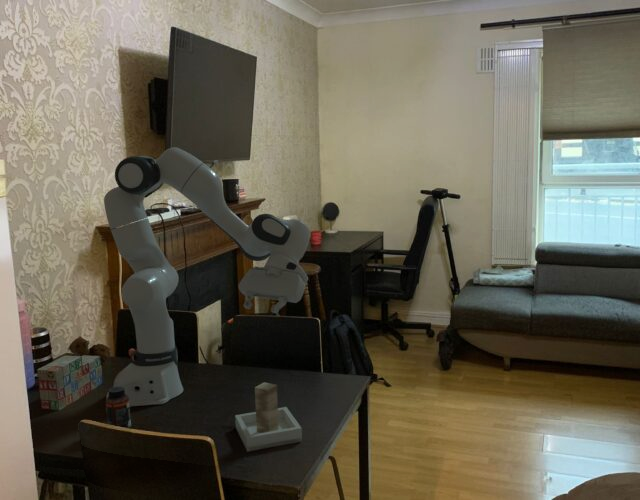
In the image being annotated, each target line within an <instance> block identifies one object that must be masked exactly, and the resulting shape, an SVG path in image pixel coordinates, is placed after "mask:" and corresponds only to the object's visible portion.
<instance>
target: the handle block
mask: <svg viewBox="0 0 640 500" xmlns="http://www.w3.org/2000/svg"><path fill="white" fill-rule="evenodd" d="M254 397H255V398H254V399H255V402H254V403H255V412H256V424H257V432H259V433H265V432H270V431H276V430H278V429H279V426H278V408H279V406H278V405H279V404H278V402H279V401H278V385H277V384H274V383H269V382H265V381H264V382H262V383H260V384H258V385H257V386H255V387H254Z"/></svg>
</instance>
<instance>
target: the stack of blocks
mask: <svg viewBox="0 0 640 500" xmlns="http://www.w3.org/2000/svg"><path fill="white" fill-rule="evenodd" d="M36 372H37V378H38V379H37V381H38V382H37V385H38V389H39V397H40V398H39V399H40V408H41V409H42V410H51V411H61V410H62V409H65V408H66V407H68V406H69V405H71V404H73V403H75V402H76V401H77V400H79V399H80V398H82V397H83V396H85V395H86V394H88V393H90V392H91V391H93V390H95V389H96V388H98V387H99V386H101V385H102V384H103V382H104V381H103V370H102V367H101V361H100V356H86V355H83V356H72V355H63V356H61V357H58V358H57V359H55V360H53V361H51V362H49V363H47V364H45V365H43V366H42V367H39V368H38V369H36Z"/></svg>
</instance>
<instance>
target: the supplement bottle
mask: <svg viewBox="0 0 640 500" xmlns="http://www.w3.org/2000/svg"><path fill="white" fill-rule="evenodd" d="M108 392H109V396H108V398H107V399H105V411H106V420H107V421H106V422H107V425H108V424H110V425H115V426H121V427H127V428H130V429H131V428H132V417H131V406H130V403H129V397H128V395H126V394H125V390H124V387H120V386H119V387H113V386H112V387H111V388H109V389H108Z"/></svg>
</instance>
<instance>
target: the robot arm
mask: <svg viewBox="0 0 640 500" xmlns="http://www.w3.org/2000/svg"><path fill="white" fill-rule="evenodd" d="M114 179H115V183H116V184H117V186H116V187H114V188H111V189H110V190H109V191H107V193H105V195H104V198H103V206H104V211H105V215H106V219H107V223H108V226H109V229H110V232H111V234H112V237H113V239H114V243H115V246H116V248H117V252H118V254H119V255H120V257H122V258H123V259H124V260H125V261H126V262H127V264H129V266H130V268H131V269H132V270H133V272H134V273H133V274H132V275H130V276H129V277H128V278H127V279H126V281H125V282H124V283H123V285H122V288H121V298H122V301H123V303H124V304H125V305H126V306H127V307H128V308H129V310H130V313H131V317H132V320H133V324H134V329H135V339H136V349H135V348H129V350H128V355H129V357H130V363H129V364H128V365H127V366H126V367H124V368H123V369H122V370H121V371H120V372H118V374H117V375H116V376H115V379H114V381H113V386H112V388H113V387H119V386H120V387H124V390H125V394H126V395H128V397H129V403H130V407H139V406H152V405H153V406H154V405H164V404H165V403H167V402H169V401H170V400H171V399H174V398H176V397H179V395H181V394H182V393H183V392H184V386H183V384H182V381H181V379H180V374H179V369H178V359H179V358H178V348H177V345H176V342H175V328H174V320H173V319H172V318H171V317H170V315H169V311H168V309H167V303H166V302H167V301H166V300H167V298H168V297H170V296H171V295H173V293H174V292H175V290H176V288H177V287H178V284H179V278H180V277H179V274H178V271H177V270H176V269H175V267H174V266H172V265H171V264H170V263H169V261H168V259H167V258H166V256H165V254H164V253H163V252H162V249H161V247H160V245H159V244H158V241H157V240H156V236H155V233H154V231H153V228H152V226H151V223H150V220H149V218H148V215H147V212H146V209H145V205H144V199H145V198H148V197H149V196H151V195H152V194H154V193H155V192H156V191H157V190H159V189H160V188H161V187H162V186H163V185H164V184H166V185H169V186H170V187H172V188H173V189H175V191H177V192H178V193H180V194H181V195H182V196H183V197H185V198H186V199H188V200H189V201H190V202H191V203H193V205H195V207H197V208H198V209H199V210H200V211H201V212H202V214H203V215H205V216H206V217H207V218H208V219H209V220H210V221H211V222H212V223H213V224H214V225H215V226H217V227H218V228H219V229H220V230H221V231H222V232H223V233H225V234H226V235H227V236H228V237H229V238H230V239H231V240H232V241H233V242H234V243H235V244H236V245H237V247H238V248H239V250H240V251H241V253H242V254H243V255H244V257H245V258H247V259H249V260H251V261H254V262H261V261H262V262H263V261H265V260H266V262H265V264H264V267H263V266H261V267H260V266H254V267H251V268H249V269H248V271H247V272H246V273H245V275H244V276H243V277H242V279H241V280H240V282H239V283H238V286H237V287H238V290H239V292H240V293H241V294H242V295H243V296H245V299H244V303H243V307H244V309H248V310H251V309H252V307H253V305H254V304H253V303H252V302H251V301H252V300H253V299H254V298H262V299H269V300H275V301H278V302H277V303H276V304H272V305H271V308H270V312H271V313H272V314H279V311H280V310H281V309H282V308H284V306H286V304H287V302H288V303H293V304H294V303H295V304H297V303H298V302H300V301H301V300H302V297H303V295H304V293H305V290H306V283H307V282H308V281H309V277H308V274H307V273H306V271H304V269H303V267H302V266H301V265H300V264H299V262H300V260H301V259H302V258H303V257H304V255H305V253H306V251H307V248H308V245H309V244H310V240H311V231H310V229H309V227H308V226H307V224H306V223H304V221H302V220H299V219H297V218H291V219H283V218H280V217H279V218H278V217H276V216H275V215H273V214H270V213H261V214H258V215H257V216H255V218H254V219H253V220H252V222H251V223H250V225H248V224H247V223H246V222H245V221H243V220H242V219H241V218H240V217H239V216H237V214H235V213H234V212H233V211H232V210H231V208H229V206H228V205H227V202H226V199H225V197H224V196H225V195H224V189H223V188H224V187H223V183H222V178H220V176H219V175H218V174H217V173H216V172H215V170H214V169H212V168H211V167H210V166H208V165H207V164H206V163H204V162H203V161H201V160H200V159H199V158H197V157H196V156H194V155H193V154H191V153H190V152H187V151H185V150H184V149H181V148H179V147H177V146H176V147H175V146H174V147H170V148H168V149H166V150H163V152H162V153H160V155H159V156H158V157H157V158H155V157H153V156H148V155H141V154H140V155H133V156H132V155H131V156H128V157H126V158H123V159H122V160H120V162H118V164H117V165H116V167H115V171H114ZM108 396H109V391H108V392H107V393H106V399H107V398H108ZM106 399H105V400H106Z"/></svg>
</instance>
